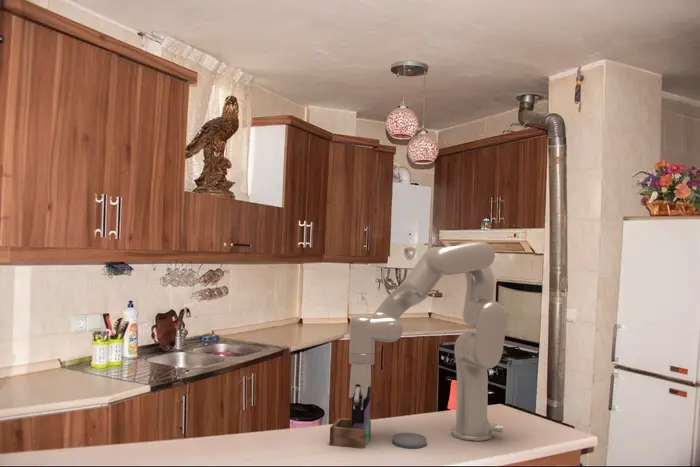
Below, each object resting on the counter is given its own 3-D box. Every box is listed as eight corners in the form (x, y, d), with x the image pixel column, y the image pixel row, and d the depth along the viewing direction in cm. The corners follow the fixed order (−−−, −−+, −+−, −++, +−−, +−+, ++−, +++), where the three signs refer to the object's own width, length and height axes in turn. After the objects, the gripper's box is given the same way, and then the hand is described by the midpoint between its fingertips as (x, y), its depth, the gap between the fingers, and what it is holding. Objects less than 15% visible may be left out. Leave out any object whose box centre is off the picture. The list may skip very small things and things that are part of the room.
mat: (427, 439, 170) (427, 434, 170) (425, 450, 160) (425, 444, 160) (394, 436, 172) (394, 431, 172) (390, 446, 162) (390, 441, 162)
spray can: (353, 445, 162) (355, 375, 163) (348, 439, 168) (350, 371, 169) (371, 444, 164) (373, 375, 165) (366, 438, 169) (367, 371, 170)
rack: (370, 437, 170) (370, 420, 171) (364, 448, 160) (364, 430, 160) (337, 434, 172) (338, 417, 173) (329, 445, 162) (330, 427, 162)
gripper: (355, 353, 176) (354, 411, 175) (343, 362, 159) (341, 427, 158) (378, 354, 174) (377, 413, 174) (369, 364, 158) (367, 429, 157)
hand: (360, 419), depth 166 cm, fingers closed on spray can, 5 cm apart
